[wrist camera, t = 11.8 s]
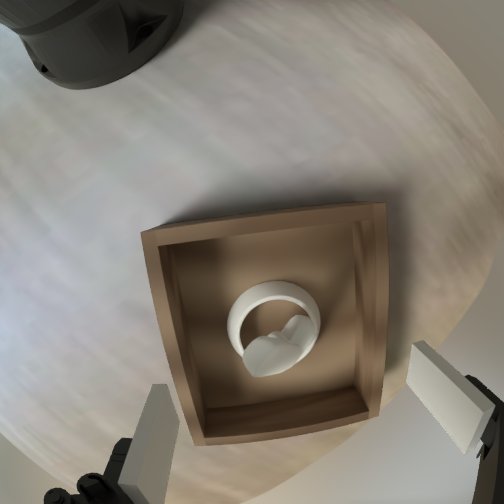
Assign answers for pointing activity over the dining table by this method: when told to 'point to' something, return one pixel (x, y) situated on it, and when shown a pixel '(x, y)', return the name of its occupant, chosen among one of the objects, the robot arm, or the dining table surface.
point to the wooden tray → (273, 317)
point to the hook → (278, 342)
